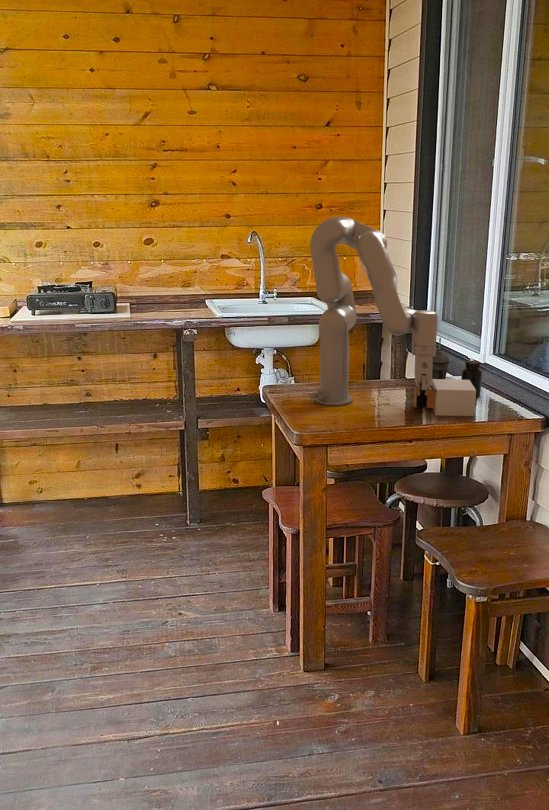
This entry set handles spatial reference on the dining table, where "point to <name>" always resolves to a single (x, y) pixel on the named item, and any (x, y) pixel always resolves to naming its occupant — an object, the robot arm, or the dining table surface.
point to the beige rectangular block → (454, 397)
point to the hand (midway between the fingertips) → (420, 404)
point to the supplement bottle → (473, 375)
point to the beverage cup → (439, 364)
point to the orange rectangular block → (429, 397)
